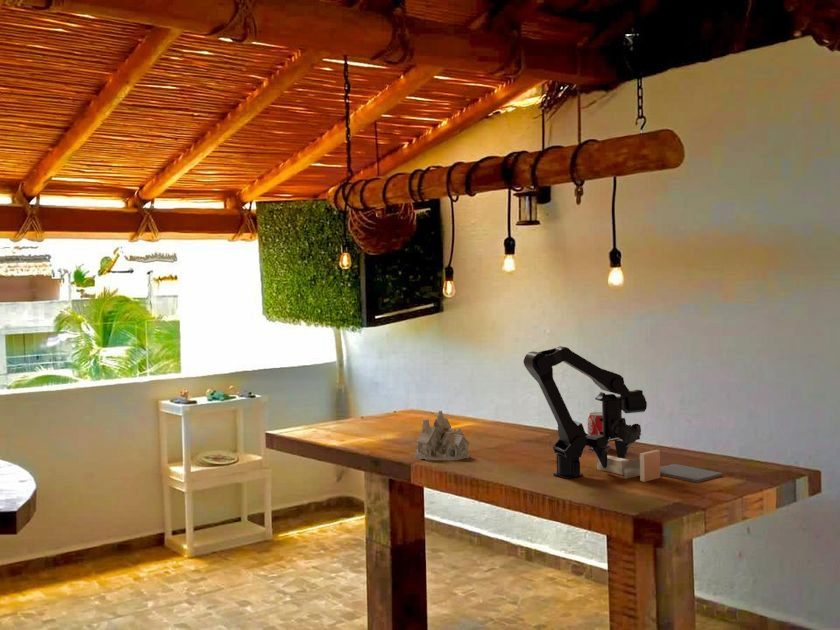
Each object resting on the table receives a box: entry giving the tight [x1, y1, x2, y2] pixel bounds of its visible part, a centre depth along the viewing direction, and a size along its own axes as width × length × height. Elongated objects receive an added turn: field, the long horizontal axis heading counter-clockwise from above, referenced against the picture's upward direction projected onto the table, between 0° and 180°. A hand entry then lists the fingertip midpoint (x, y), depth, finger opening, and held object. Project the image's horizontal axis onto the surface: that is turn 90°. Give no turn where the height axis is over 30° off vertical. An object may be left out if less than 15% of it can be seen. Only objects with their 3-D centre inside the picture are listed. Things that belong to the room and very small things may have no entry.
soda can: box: [587, 411, 610, 451], centre depth 301 cm, size 7×7×12 cm
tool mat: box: [660, 463, 723, 483], centre depth 262 cm, size 17×12×1 cm
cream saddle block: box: [596, 454, 640, 479], centre depth 267 cm, size 14×9×5 cm, turn 36°
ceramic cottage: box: [414, 410, 471, 461], centre depth 296 cm, size 16×16×15 cm
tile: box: [639, 449, 661, 483], centre depth 257 cm, size 2×7×8 cm, turn 126°
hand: (613, 466), depth 269 cm, fingers open, 7 cm apart
